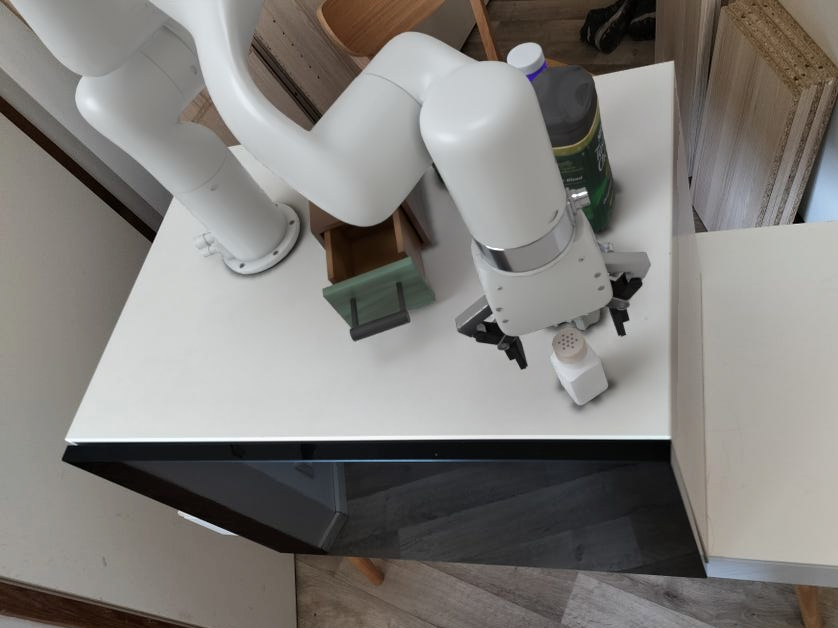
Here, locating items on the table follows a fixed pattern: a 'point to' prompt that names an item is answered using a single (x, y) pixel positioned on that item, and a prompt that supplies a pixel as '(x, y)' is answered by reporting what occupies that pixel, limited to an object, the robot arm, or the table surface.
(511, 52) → the bottle
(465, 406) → the table surface
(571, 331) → the salt shaker
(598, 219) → the coffee jar
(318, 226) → the cabinet
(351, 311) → the drawer
